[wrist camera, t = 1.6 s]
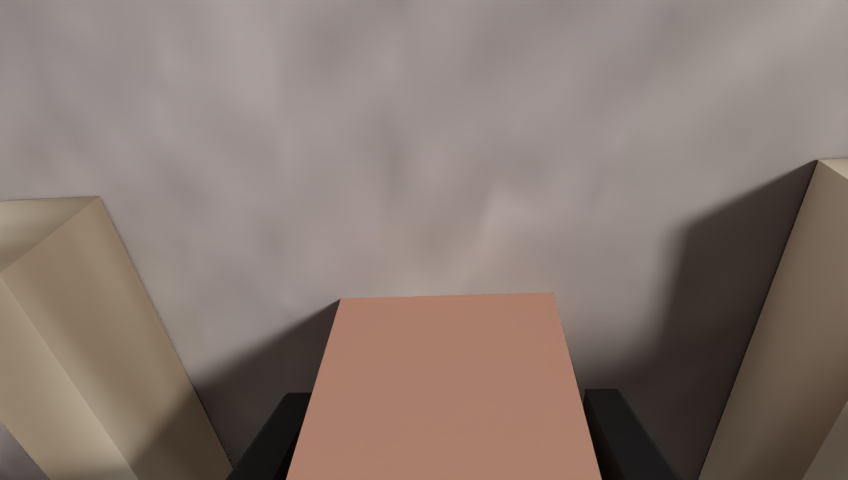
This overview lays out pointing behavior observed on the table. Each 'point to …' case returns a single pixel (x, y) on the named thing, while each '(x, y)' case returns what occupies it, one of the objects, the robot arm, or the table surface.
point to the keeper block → (446, 393)
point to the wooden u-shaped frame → (195, 437)
